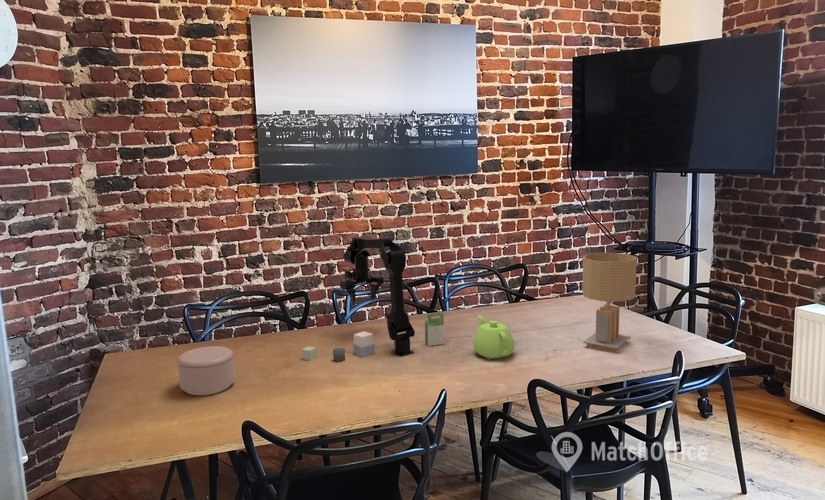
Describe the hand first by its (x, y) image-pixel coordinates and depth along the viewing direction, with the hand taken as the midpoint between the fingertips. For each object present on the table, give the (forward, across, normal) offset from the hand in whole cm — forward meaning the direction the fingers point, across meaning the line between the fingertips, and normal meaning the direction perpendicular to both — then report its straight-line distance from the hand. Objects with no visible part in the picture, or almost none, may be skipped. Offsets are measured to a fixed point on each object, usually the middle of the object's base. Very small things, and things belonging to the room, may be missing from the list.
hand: (363, 302), depth 251 cm
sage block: (+15, +31, +10) cm, 36 cm away
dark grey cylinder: (+15, +23, +19) cm, 33 cm away
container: (+15, +70, +13) cm, 73 cm away
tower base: (+15, +12, +19) cm, 27 cm away
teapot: (+15, -26, +51) cm, 59 cm away
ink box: (+15, -16, +28) cm, 36 cm away
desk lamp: (+15, -67, +73) cm, 100 cm away
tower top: (+11, +12, +19) cm, 25 cm away
